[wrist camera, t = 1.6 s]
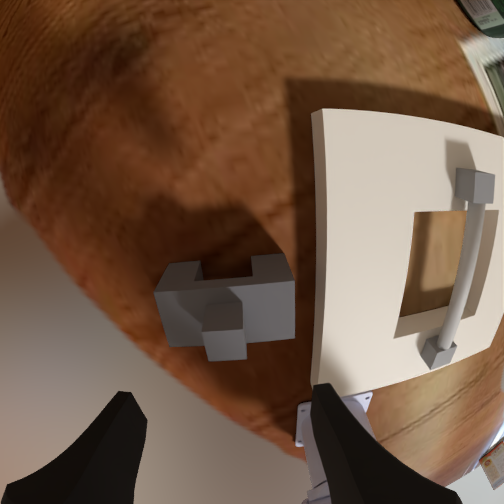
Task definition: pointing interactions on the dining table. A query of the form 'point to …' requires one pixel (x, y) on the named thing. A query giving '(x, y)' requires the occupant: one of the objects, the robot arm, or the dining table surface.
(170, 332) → the grey notched block
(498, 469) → the cracker box
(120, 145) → the dining table surface
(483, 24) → the coffee jar
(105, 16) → the dining table surface
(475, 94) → the dining table surface
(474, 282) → the white slotted board
